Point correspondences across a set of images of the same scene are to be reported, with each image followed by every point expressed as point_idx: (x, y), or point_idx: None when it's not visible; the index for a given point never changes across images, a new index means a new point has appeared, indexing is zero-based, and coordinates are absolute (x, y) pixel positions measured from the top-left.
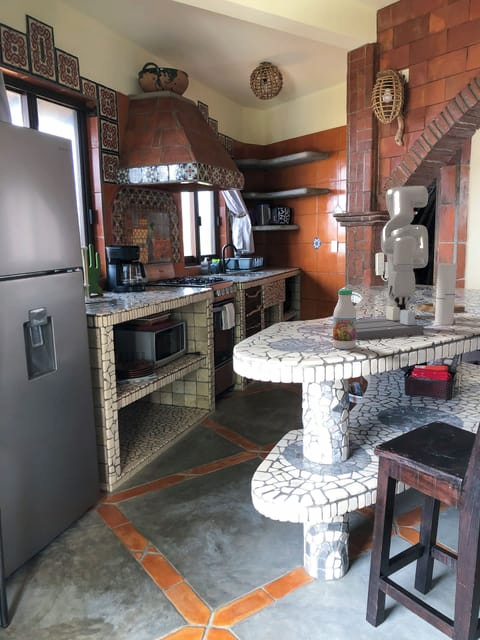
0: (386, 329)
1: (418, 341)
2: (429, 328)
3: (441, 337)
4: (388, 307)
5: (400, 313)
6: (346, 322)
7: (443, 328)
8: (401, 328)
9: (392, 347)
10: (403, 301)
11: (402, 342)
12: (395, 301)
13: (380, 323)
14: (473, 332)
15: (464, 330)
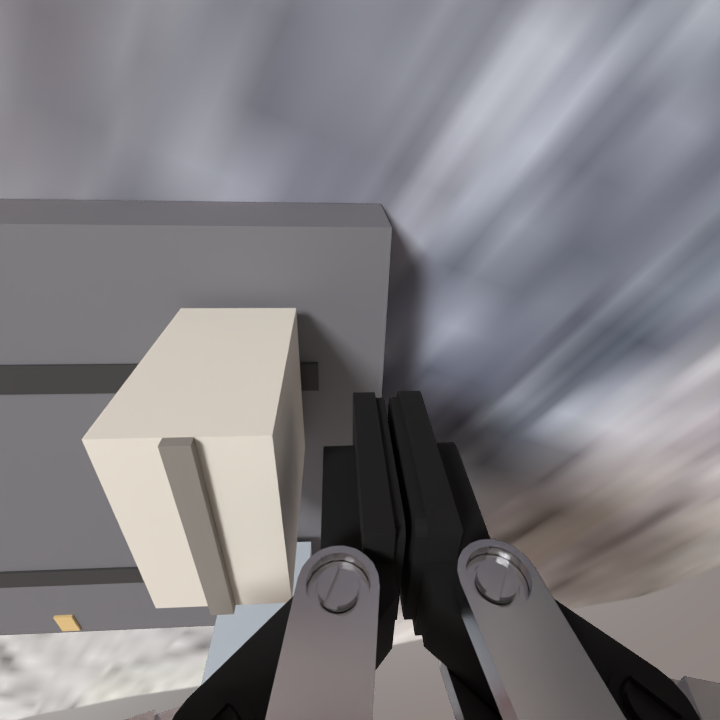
0: (37, 633)
1: None
2: (558, 450)
3: (406, 622)
4: (116, 496)
5: (210, 653)
6: None
7: (646, 476)
8: (175, 624)
9: (48, 691)
10: (455, 659)
11: (135, 650)
12: (250, 649)
13: (36, 471)
14: (670, 585)
15: (689, 546)
